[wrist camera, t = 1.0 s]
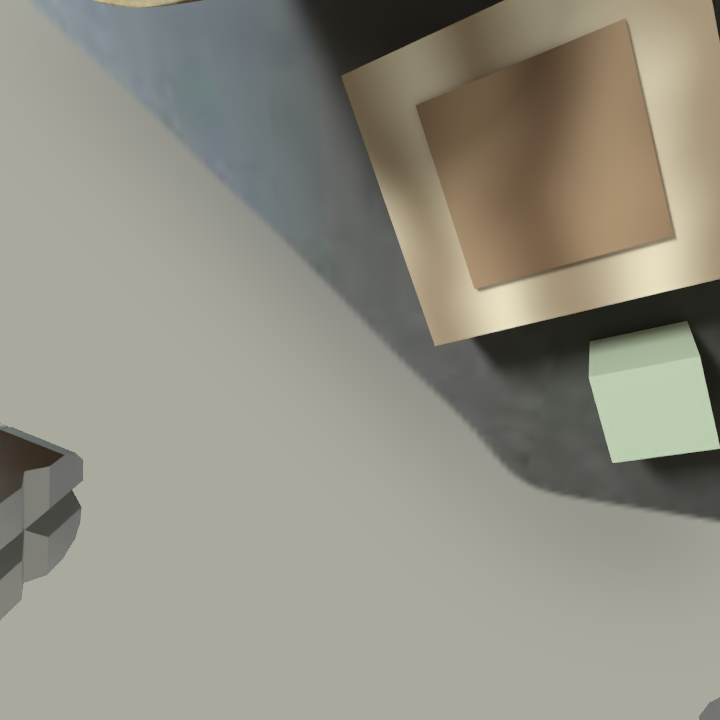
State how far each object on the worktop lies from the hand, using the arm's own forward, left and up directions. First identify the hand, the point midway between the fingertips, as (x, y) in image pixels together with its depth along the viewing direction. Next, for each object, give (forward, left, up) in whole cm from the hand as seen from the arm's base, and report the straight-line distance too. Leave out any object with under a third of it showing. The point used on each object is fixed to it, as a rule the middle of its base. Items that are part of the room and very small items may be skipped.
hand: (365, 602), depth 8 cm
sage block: (-3, +11, -30) cm, 32 cm away
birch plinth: (-1, -2, -30) cm, 30 cm away
